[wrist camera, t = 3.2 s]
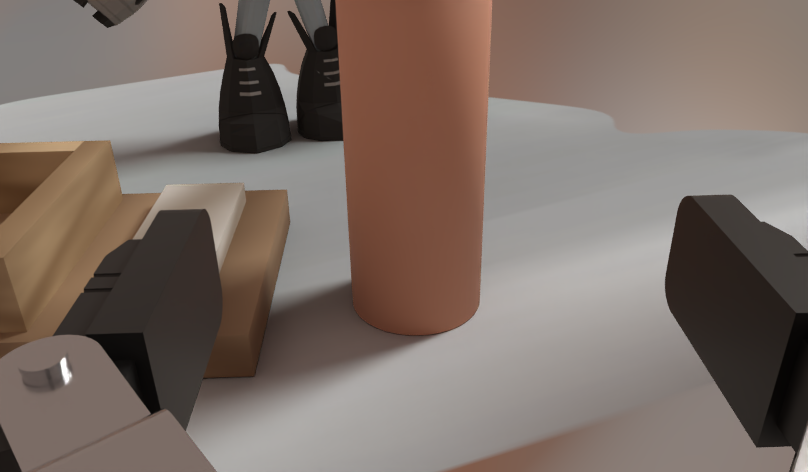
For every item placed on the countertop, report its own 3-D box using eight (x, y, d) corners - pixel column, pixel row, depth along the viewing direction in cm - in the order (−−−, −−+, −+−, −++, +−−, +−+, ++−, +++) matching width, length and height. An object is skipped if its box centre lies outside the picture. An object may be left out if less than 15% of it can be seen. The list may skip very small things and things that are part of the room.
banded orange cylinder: (473, 262, 27) (488, -163, 20) (489, 334, 23) (514, -166, 16) (353, 266, 27) (329, -161, 20) (348, 338, 23) (317, -162, 16)
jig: (290, 222, 30) (281, 131, 28) (254, 376, 21) (237, 259, 20) (-97, 233, 30) (-133, 142, 28) (-295, 393, 21) (-367, 277, 19)
